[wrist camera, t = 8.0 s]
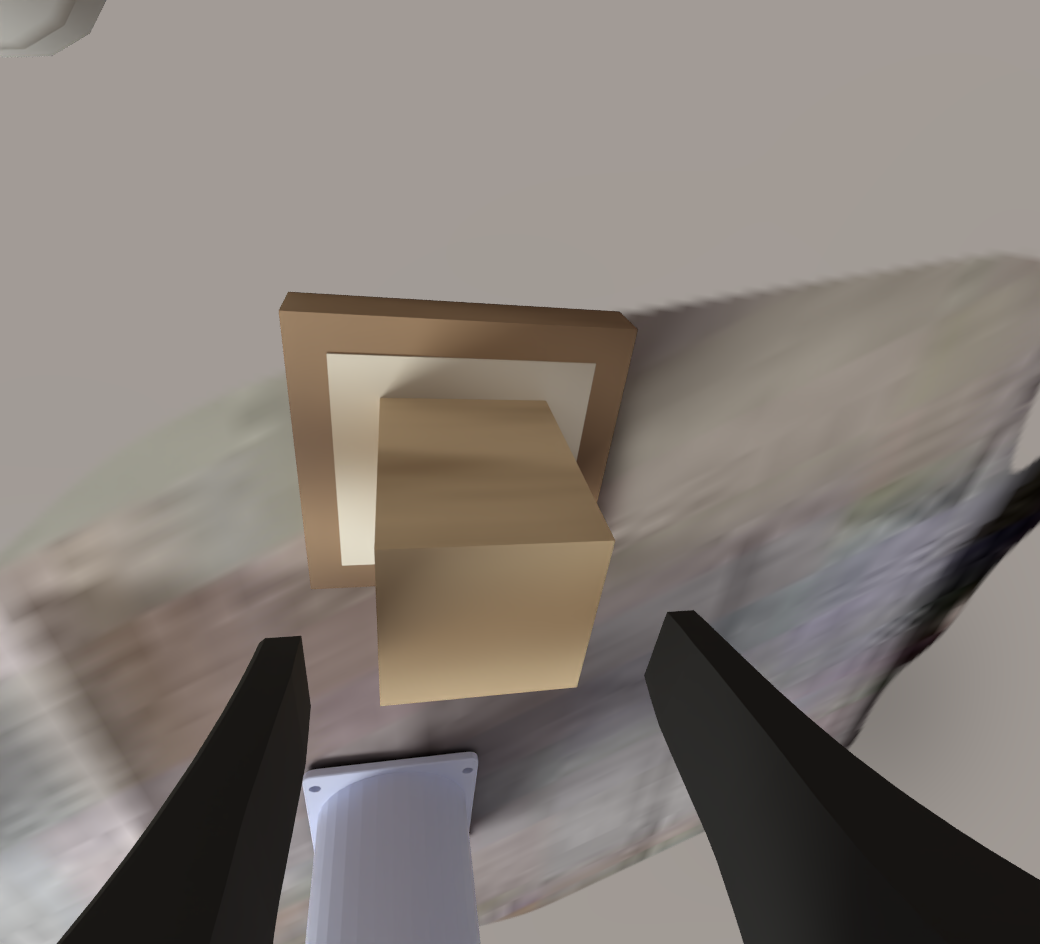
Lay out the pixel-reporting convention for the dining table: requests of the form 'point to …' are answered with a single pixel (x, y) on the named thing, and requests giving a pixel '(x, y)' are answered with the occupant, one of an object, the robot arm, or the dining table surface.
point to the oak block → (482, 551)
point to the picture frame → (429, 394)
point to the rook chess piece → (44, 25)
